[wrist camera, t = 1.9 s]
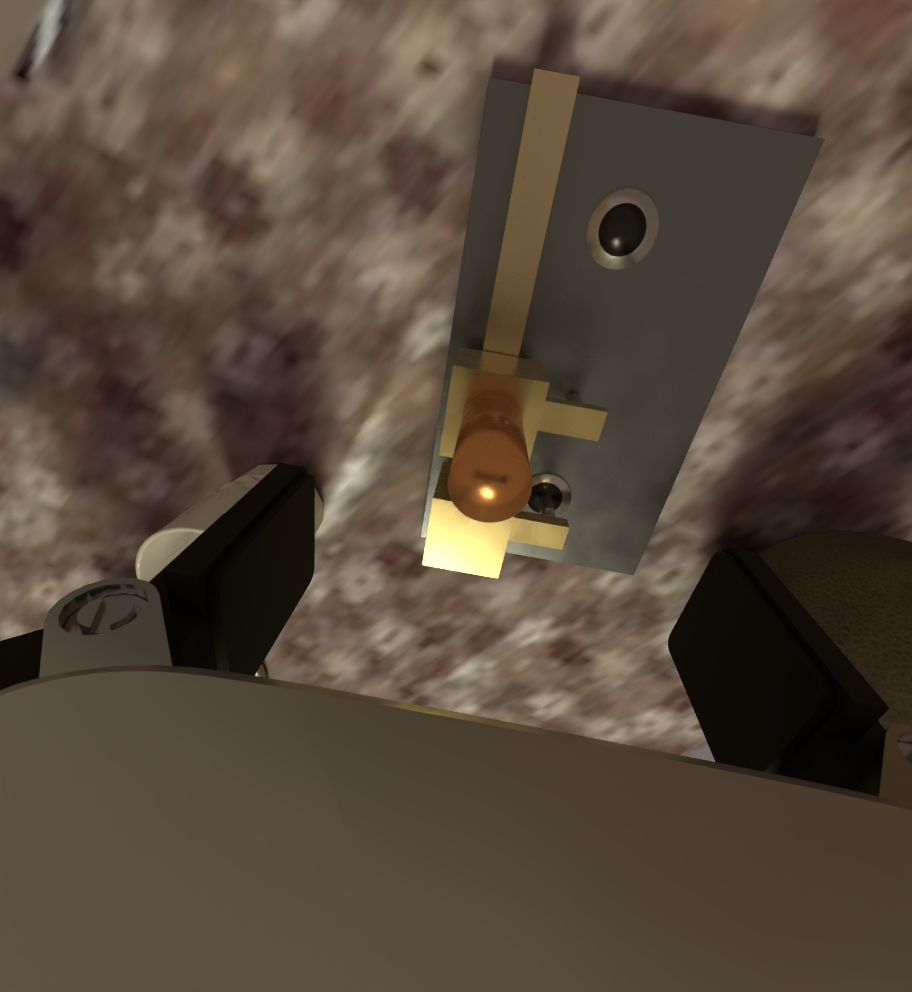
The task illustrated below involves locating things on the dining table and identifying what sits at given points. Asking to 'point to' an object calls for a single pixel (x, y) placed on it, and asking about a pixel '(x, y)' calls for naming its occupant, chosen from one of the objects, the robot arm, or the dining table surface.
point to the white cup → (200, 523)
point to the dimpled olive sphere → (858, 604)
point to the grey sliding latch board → (607, 301)
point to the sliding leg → (503, 430)
